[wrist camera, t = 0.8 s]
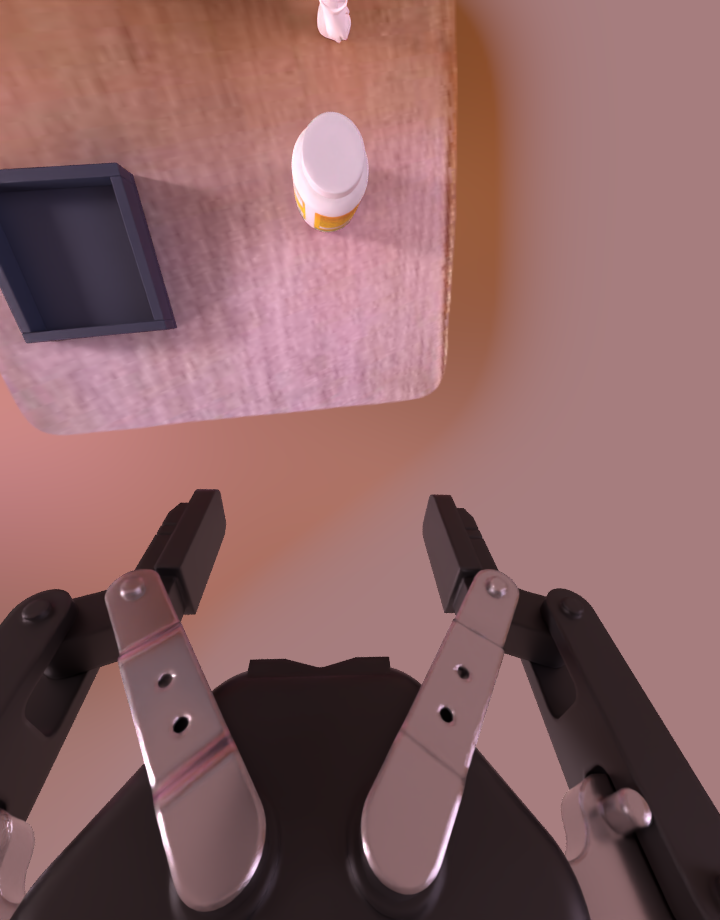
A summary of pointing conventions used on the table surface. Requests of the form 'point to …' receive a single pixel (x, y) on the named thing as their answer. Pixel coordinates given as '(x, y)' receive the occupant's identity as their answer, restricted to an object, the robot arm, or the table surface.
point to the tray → (78, 254)
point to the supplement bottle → (329, 171)
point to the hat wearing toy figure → (334, 19)
